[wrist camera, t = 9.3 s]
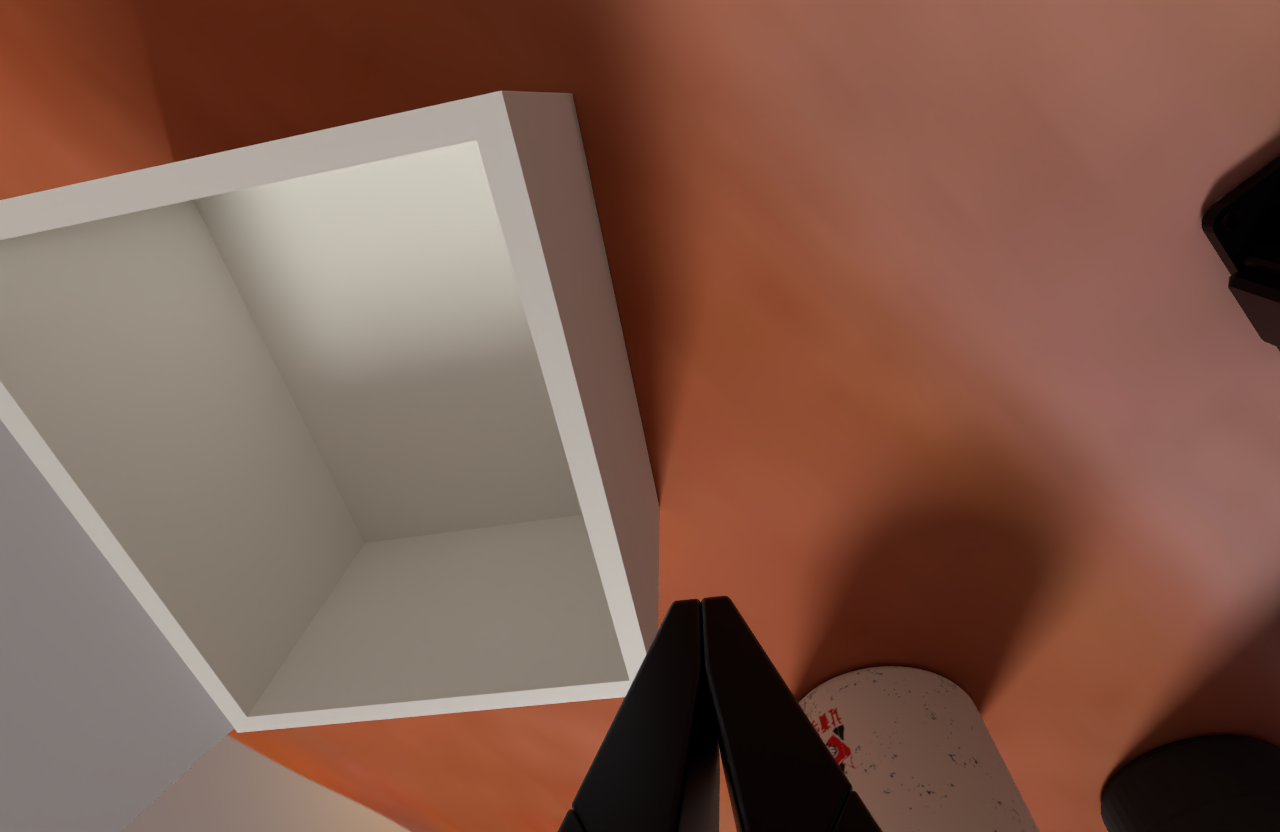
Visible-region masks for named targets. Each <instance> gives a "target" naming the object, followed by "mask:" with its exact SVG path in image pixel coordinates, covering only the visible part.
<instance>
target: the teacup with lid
mask: <svg viewBox="0 0 1280 832" xmlns="http://www.w3.org/2000/svg"><path fill="white" fill-rule="evenodd" d="M799 705H800V706H801V708H802V709H803V711H804V713H805V714H806V716H807V717H808V719H809V720H810V722H811V723H812V725H813V726H814V728H815V729H816V731H817V733H818V734H819V736H820V737H821V739H822V740H823V742H824V743H825V745H826V746H827V748H828V749H829V751H830V752H831V754H832V756H833V757H834V759H835V760H836V762H837V763H838V765H839V766H840V768H841V769H842V771H843V772H844V774H845V776H846V777H847V779H848V780H849V782H850V783H851V785H852V788H853V791H856V792H857V793H858V795H859V796H860V798H861V800H862V801H863V803H864V804H865V806H866V807H867V809H868V810H869V812H870V813H871V815H872V816H873V818H874V819H875V821H876V822H877V824H878V825H879V827H880V828H881V830H882V831H883V832H1039V830H1038V828H1037V826H1036V824H1035V822H1034V820H1033V818H1032V816H1031V814H1030V812H1029V810H1028V808H1027V806H1026V804H1025V802H1024V800H1023V798H1022V796H1021V794H1020V792H1019V790H1018V788H1017V786H1016V785H1015V783H1014V781H1013V779H1012V777H1011V775H1010V773H1009V771H1008V769H1007V767H1006V765H1005V763H1004V761H1003V759H1002V757H1001V755H1000V753H999V751H998V749H997V747H996V745H995V743H994V741H993V739H992V737H991V735H990V733H989V731H988V729H987V727H986V725H985V724H984V722H983V720H982V718H981V716H980V714H979V712H978V710H977V708H976V706H975V704H974V703H973V701H972V700H971V698H970V697H969V696H968V695H967V693H966V692H965V691H963V690H962V689H961V688H960V687H959V686H958V685H956V684H955V683H953V682H952V681H950V680H948V679H946V678H944V677H942V676H940V675H938V674H935V673H932V672H929V671H926V670H922V669H917V668H911V667H902V666H880V667H871V668H865V669H860V670H856V671H852V672H848V673H845V674H842V675H840V676H837V677H835V678H832V679H830V680H828V681H826V682H824V683H823V684H821V685H819V686H818V687H816V688H815V689H813V690H812V691H810V692H809V693H808V694H807V695H806V696H805V697H804V698H803V699H802V700H801V701H800V702H799Z"/></svg>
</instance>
